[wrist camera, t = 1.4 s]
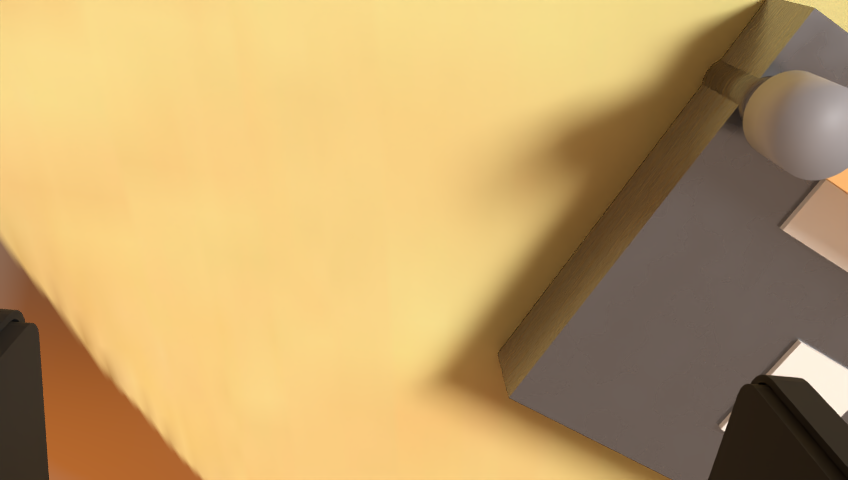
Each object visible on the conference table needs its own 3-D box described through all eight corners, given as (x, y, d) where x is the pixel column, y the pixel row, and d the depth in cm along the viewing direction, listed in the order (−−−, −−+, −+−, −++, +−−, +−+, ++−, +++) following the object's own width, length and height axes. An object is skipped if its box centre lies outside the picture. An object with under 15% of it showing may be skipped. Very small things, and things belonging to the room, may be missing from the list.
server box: (765, -6, 34) (831, 10, 29) (1024, 187, 39) (1119, 230, 34) (491, 356, 41) (506, 419, 36) (737, 482, 46) (781, 554, 41)
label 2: (798, 339, 37) (801, 342, 37) (869, 381, 38) (872, 384, 38) (718, 425, 39) (720, 429, 39) (788, 463, 40) (791, 466, 40)
